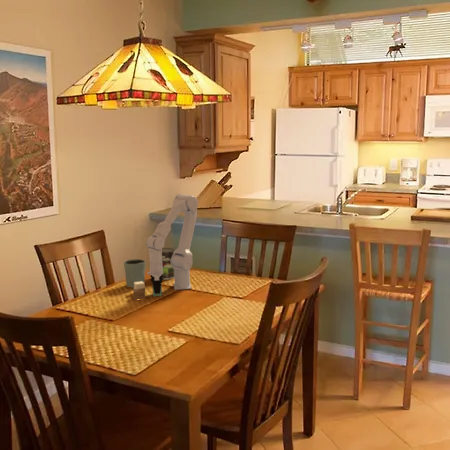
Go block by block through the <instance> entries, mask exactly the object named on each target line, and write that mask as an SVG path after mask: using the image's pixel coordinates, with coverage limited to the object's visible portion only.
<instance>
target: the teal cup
mask: <svg viewBox="0 0 450 450" xmlns="http://www.w3.org/2000/svg"><path fill="white" fill-rule="evenodd" d="M123 265H124V266H123V267H124V274H125V282H126V283H125V285H126V287H127V288H128V287H132V288H131V289H134V282H140V281H143V282H144V283H146V282H145V276H146V275H145V273H146V272H145V271H146V260H144V259H142V258H141V259H140V258H139V259H138V258H135V259H127V260H125V261H124V262H123Z"/></svg>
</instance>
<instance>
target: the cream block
mask: <svg viewBox="0 0 450 450" xmlns="http://www.w3.org/2000/svg"><path fill="white" fill-rule="evenodd" d="M144 282H145V281H144ZM144 282H143V281H140V282H134V288H133V289H140V288H145V289H146V286H145V283H146V282H145V283H144Z"/></svg>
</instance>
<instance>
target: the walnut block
mask: <svg viewBox="0 0 450 450" xmlns="http://www.w3.org/2000/svg"><path fill="white" fill-rule="evenodd" d="M132 290H133V291H132V292H133V293H132V294H133V301H134V300H135V301H138V300H137V299H145V300H146V287H145V288H140V289H134V288H132Z"/></svg>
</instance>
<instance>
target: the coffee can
mask: <svg viewBox="0 0 450 450" xmlns="http://www.w3.org/2000/svg"><path fill="white" fill-rule="evenodd" d="M175 250H176V249H175V248H171V247H163V248H162V266H163V276H162V278H163V281H165V280H166V281H167V280H173V279H175V278H174V269H173V266H172V265H171V257H172V256H173V253H174V251H175Z"/></svg>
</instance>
